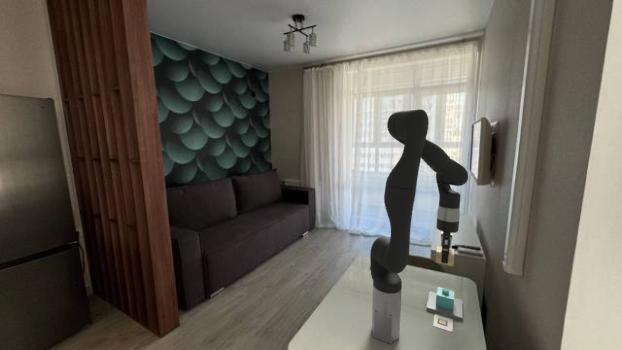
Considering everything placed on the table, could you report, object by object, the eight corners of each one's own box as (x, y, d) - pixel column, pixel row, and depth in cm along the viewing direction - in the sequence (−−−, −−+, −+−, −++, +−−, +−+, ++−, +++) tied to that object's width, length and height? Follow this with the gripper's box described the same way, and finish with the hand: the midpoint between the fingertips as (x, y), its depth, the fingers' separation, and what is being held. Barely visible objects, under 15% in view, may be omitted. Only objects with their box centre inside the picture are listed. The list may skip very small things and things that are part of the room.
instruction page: (452, 332, 87) (452, 331, 87) (433, 326, 90) (433, 325, 90) (452, 319, 93) (452, 319, 93) (434, 314, 96) (434, 313, 96)
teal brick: (453, 310, 96) (454, 297, 95) (435, 305, 99) (436, 292, 98) (453, 301, 101) (454, 288, 100) (436, 297, 104) (437, 284, 103)
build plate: (462, 320, 92) (462, 315, 92) (426, 310, 98) (426, 304, 98) (462, 302, 102) (462, 297, 102) (429, 293, 108) (429, 288, 108)
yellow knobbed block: (453, 266, 95) (454, 252, 94) (435, 262, 98) (436, 249, 97) (453, 259, 100) (454, 246, 99) (436, 256, 103) (437, 243, 102)
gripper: (459, 225, 89) (455, 269, 91) (458, 214, 101) (455, 254, 103) (436, 221, 92) (432, 264, 95) (438, 212, 105) (435, 250, 107)
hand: (444, 259), depth 99 cm, fingers closed on yellow knobbed block, 6 cm apart
